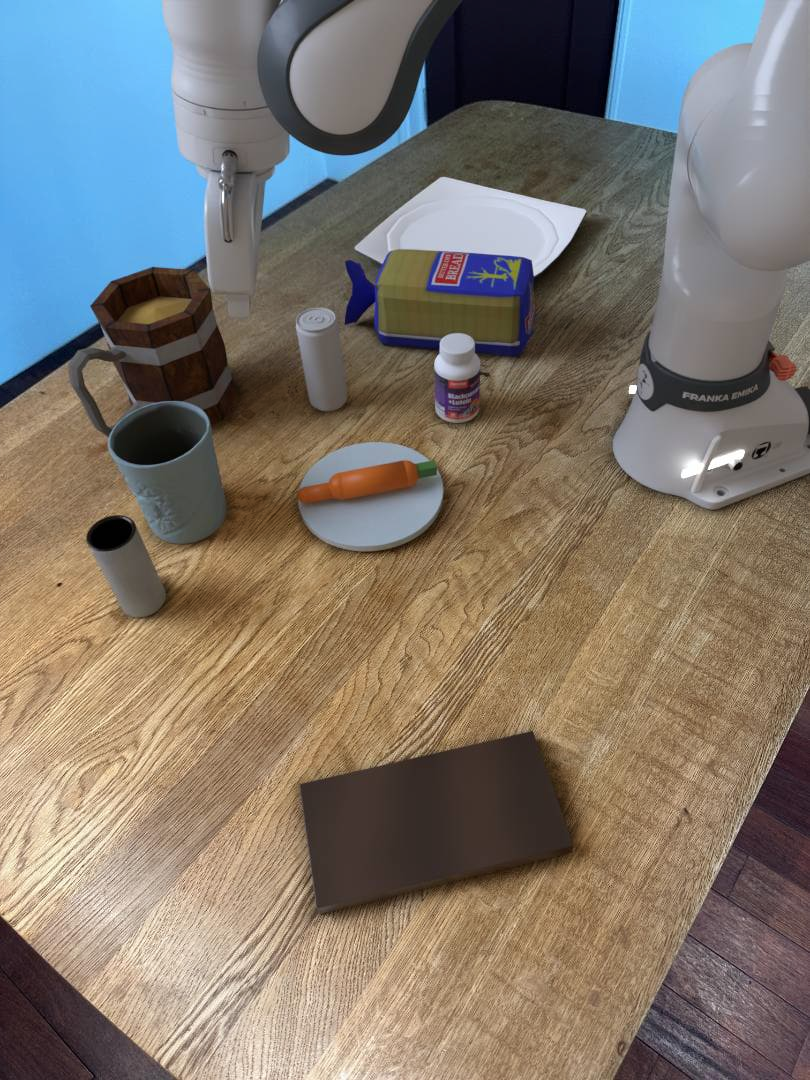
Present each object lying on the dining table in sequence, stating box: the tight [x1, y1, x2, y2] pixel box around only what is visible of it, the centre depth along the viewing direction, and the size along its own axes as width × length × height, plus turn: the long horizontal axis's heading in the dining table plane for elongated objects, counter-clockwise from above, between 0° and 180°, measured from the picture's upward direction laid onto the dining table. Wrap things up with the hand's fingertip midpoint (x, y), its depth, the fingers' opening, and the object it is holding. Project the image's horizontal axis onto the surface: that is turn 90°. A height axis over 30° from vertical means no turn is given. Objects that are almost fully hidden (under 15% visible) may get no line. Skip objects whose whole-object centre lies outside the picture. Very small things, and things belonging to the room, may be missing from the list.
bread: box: [344, 249, 537, 358], centre depth 106 cm, size 10×25×10 cm, turn 77°
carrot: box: [296, 459, 438, 504], centre depth 88 cm, size 15×3×3 cm, turn 102°
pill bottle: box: [433, 333, 481, 424], centre depth 95 cm, size 5×5×10 cm
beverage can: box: [295, 307, 349, 413], centre depth 97 cm, size 5×5×12 cm
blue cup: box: [107, 401, 228, 545], centre depth 85 cm, size 10×10×12 cm
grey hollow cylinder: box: [85, 514, 167, 619], centre depth 78 cm, size 4×4×10 cm
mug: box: [67, 266, 239, 438], centre depth 96 cm, size 20×14×15 cm
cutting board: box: [298, 730, 575, 915], centre depth 65 cm, size 20×10×2 cm, turn 102°
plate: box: [353, 176, 587, 279], centre depth 123 cm, size 29×29×3 cm
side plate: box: [297, 441, 445, 552], centre depth 89 cm, size 16×16×1 cm
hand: (243, 284), depth 74 cm, fingers open, 8 cm apart
